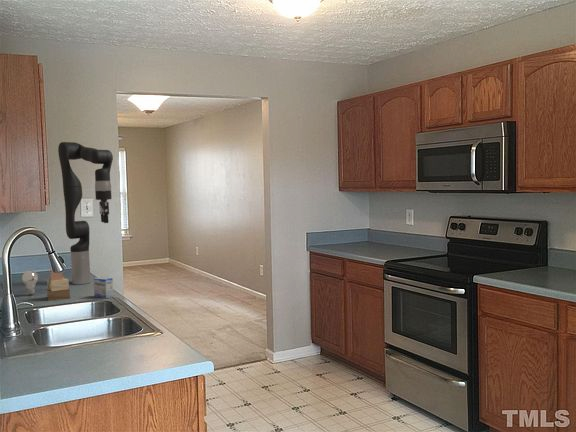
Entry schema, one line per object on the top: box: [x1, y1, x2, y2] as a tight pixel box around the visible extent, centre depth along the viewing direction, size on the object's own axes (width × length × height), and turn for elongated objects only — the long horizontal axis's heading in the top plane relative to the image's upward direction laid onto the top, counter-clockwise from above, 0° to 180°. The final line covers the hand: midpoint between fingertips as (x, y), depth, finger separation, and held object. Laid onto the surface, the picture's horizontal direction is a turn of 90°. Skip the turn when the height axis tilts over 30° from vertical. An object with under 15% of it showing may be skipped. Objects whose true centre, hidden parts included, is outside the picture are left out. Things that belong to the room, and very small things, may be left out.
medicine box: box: [93, 277, 114, 299], centre depth 256 cm, size 8×4×9 cm, turn 62°
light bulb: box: [21, 269, 39, 296], centre depth 265 cm, size 7×7×12 cm
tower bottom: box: [46, 288, 71, 302], centre depth 256 cm, size 9×9×4 cm
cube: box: [49, 267, 64, 281], centre depth 256 cm, size 5×5×5 cm
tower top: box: [46, 276, 70, 291], centre depth 256 cm, size 8×8×4 cm
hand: (104, 222), depth 275 cm, fingers open, 8 cm apart
